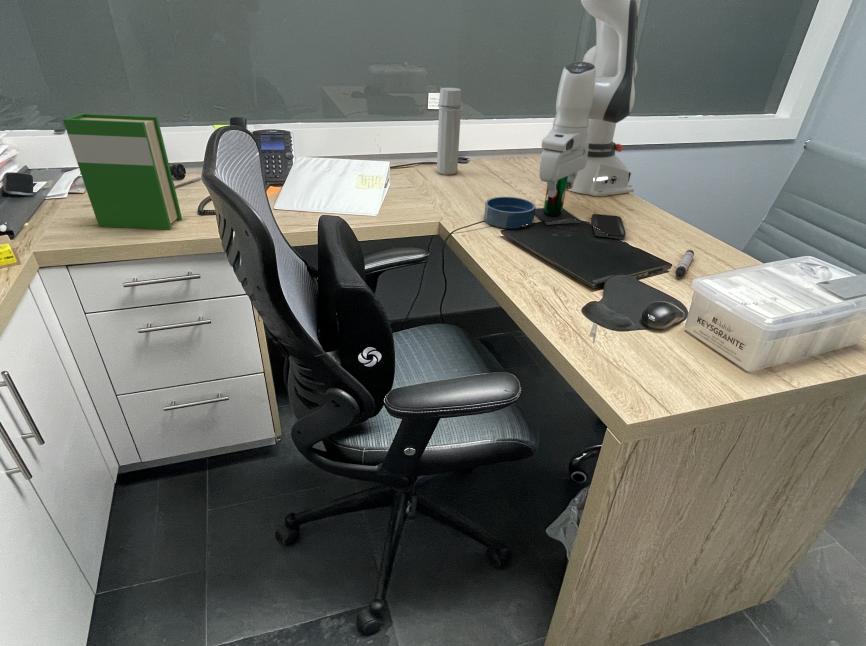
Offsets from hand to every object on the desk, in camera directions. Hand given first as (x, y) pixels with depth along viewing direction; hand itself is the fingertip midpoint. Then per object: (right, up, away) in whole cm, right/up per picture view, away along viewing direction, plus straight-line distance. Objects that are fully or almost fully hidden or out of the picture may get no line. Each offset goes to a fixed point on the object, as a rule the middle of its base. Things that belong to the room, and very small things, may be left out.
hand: (560, 192), depth 145 cm
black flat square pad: (-1, -5, +4) cm, 7 cm away
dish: (-14, -8, 0) cm, 16 cm away
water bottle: (-29, +19, +37) cm, 51 cm away
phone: (+12, -10, -2) cm, 16 cm away
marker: (+23, -25, -22) cm, 41 cm away
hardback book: (-108, -11, -9) cm, 109 cm away
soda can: (-1, -5, +4) cm, 6 cm away
